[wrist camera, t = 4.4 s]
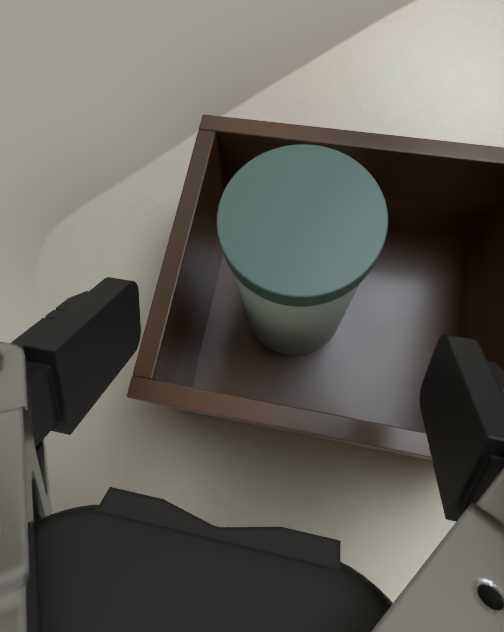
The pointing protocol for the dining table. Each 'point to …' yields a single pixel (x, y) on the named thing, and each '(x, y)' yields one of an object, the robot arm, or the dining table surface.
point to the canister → (300, 241)
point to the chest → (364, 309)
